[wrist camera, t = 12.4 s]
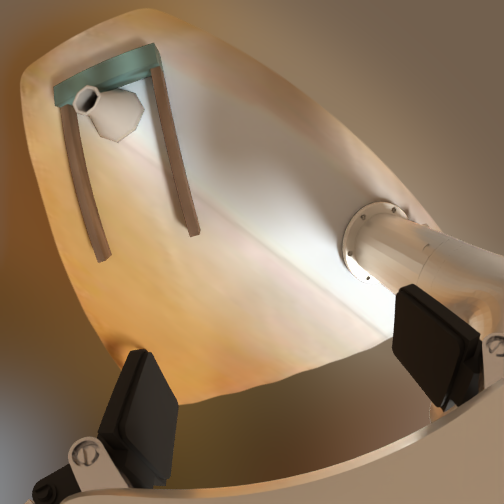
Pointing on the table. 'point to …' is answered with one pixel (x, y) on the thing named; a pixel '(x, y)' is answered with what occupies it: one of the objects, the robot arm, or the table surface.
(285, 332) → the table surface
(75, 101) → the flask
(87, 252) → the table surface
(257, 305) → the table surface
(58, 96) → the guide channel
